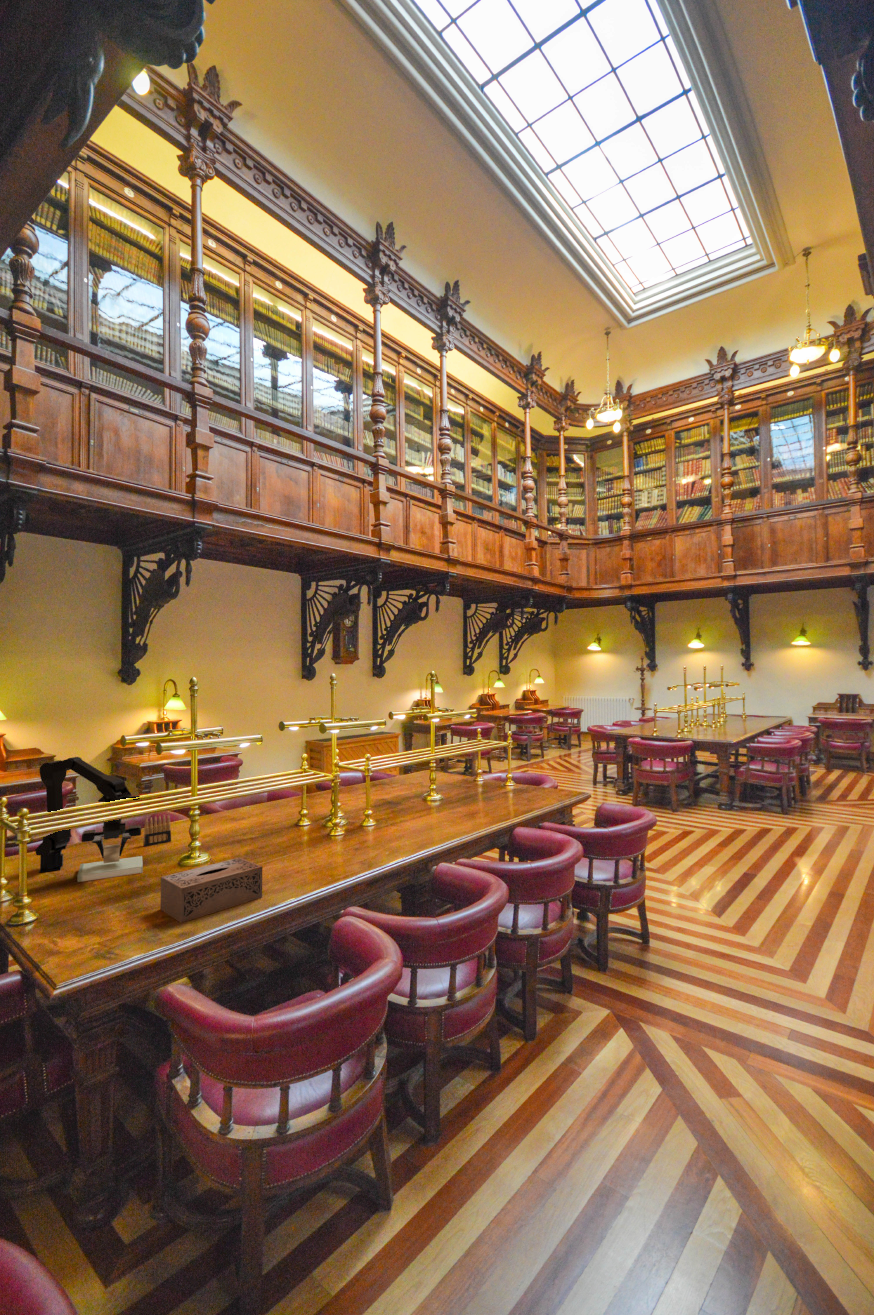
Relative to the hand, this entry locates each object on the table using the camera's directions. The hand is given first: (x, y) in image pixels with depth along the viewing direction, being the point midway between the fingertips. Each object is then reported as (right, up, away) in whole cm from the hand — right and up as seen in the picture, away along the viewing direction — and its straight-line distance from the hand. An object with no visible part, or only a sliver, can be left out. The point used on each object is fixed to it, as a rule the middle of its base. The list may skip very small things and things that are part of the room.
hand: (111, 857), depth 207 cm
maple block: (0, -1, 0) cm, 1 cm away
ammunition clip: (-1, -7, +35) cm, 36 cm away
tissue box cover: (+49, -4, -31) cm, 58 cm away
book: (0, -5, 0) cm, 5 cm away
